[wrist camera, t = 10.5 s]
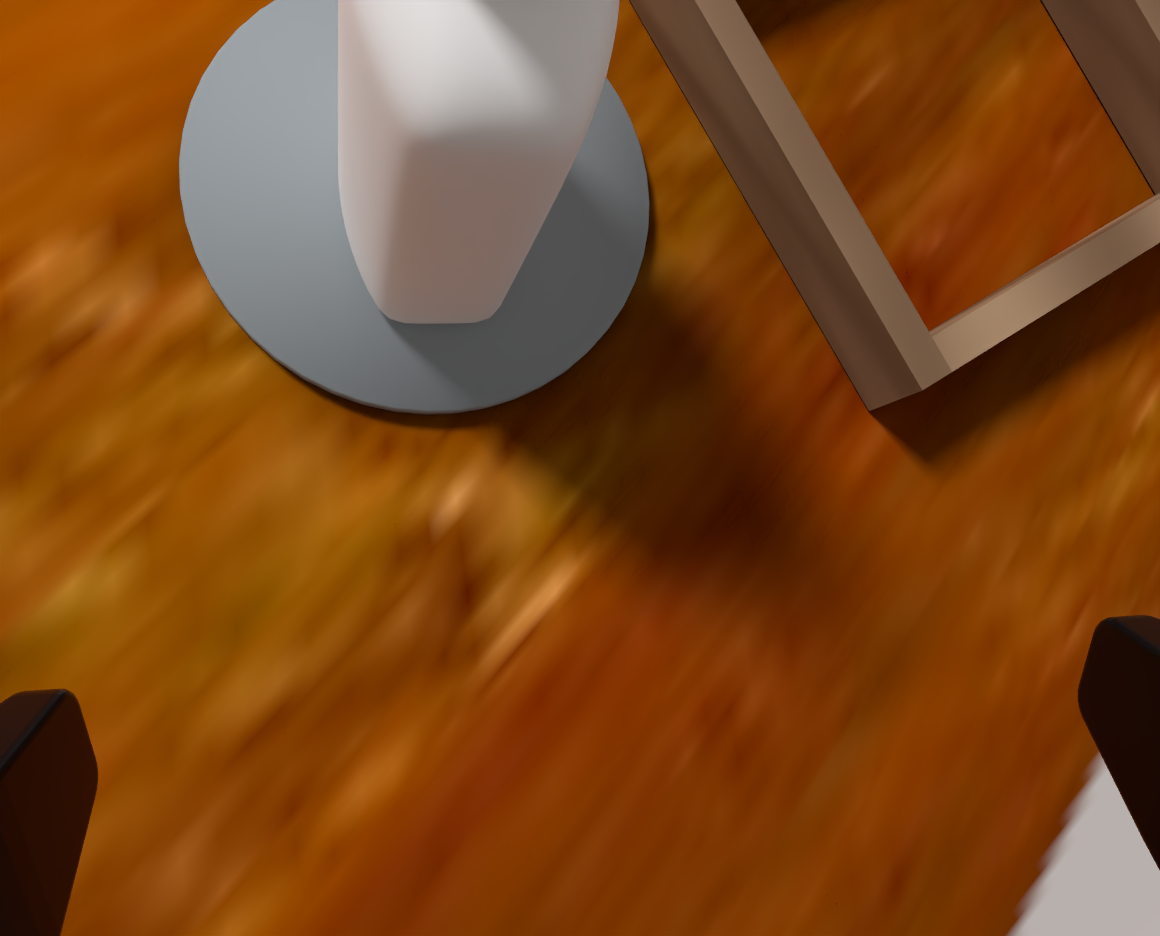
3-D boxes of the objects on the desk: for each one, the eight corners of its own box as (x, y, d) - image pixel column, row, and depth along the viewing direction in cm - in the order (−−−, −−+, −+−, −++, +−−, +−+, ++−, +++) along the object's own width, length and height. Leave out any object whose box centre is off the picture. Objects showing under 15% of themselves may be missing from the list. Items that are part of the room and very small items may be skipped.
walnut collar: (868, 411, 21) (922, 390, 19) (620, -16, 21) (649, -79, 19) (1194, 209, 24) (1269, 174, 22) (975, -163, 24) (1030, -231, 22)
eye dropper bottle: (587, 129, 20) (928, -537, 8) (469, 368, 19) (683, -36, 7) (390, 20, 19) (470, -866, 8) (254, 259, 18) (106, -380, 6)
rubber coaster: (334, 499, 18) (333, 497, 18) (90, 78, 18) (85, 67, 18) (720, 290, 21) (728, 284, 20) (505, -79, 21) (508, -93, 20)
